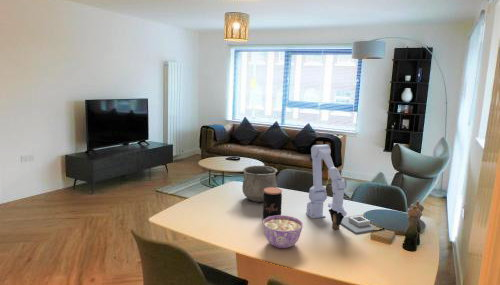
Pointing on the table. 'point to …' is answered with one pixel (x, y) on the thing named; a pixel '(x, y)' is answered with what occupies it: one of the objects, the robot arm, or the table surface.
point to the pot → (258, 181)
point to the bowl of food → (282, 230)
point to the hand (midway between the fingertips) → (336, 223)
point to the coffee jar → (272, 202)
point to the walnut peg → (334, 225)
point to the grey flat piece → (357, 224)
